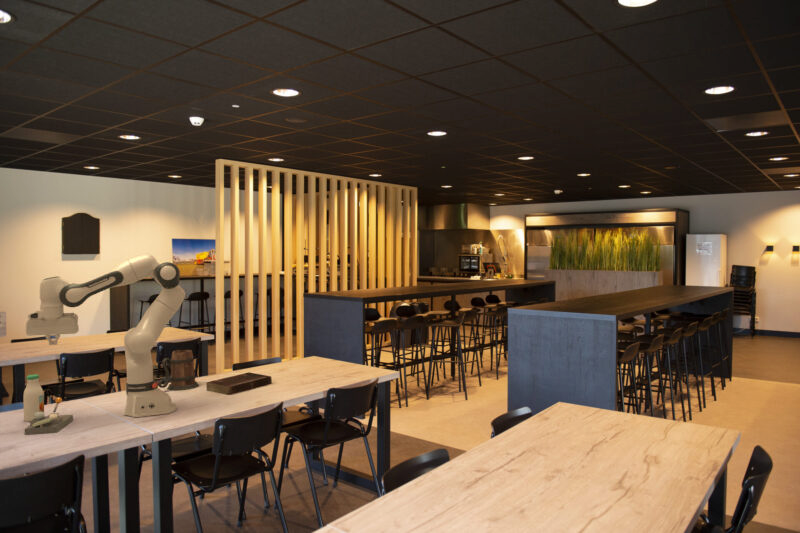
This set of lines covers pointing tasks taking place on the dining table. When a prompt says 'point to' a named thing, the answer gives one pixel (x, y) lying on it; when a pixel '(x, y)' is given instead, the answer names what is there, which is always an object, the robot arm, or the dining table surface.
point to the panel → (49, 425)
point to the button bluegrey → (39, 415)
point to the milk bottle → (33, 398)
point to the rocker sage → (42, 422)
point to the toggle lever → (58, 400)
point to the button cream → (53, 416)
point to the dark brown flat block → (238, 383)
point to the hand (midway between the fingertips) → (53, 344)
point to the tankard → (179, 371)
